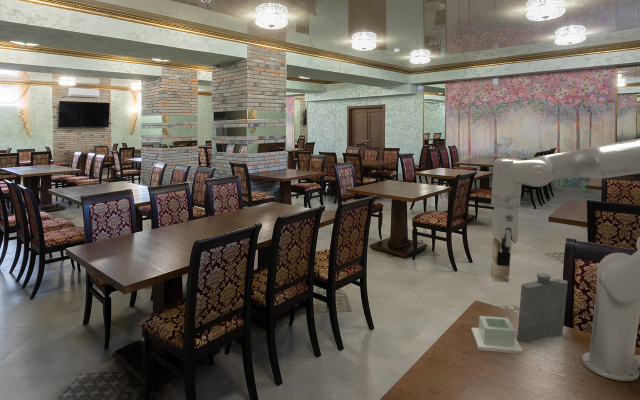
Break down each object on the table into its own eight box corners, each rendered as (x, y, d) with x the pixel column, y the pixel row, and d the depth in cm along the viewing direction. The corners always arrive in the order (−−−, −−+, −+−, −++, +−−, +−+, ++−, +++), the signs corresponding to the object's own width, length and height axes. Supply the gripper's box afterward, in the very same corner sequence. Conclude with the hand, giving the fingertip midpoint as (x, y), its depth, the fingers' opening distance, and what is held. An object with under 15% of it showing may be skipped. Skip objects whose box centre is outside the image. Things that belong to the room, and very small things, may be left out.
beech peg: (505, 277, 121) (507, 238, 119) (508, 282, 117) (511, 242, 115) (490, 276, 122) (493, 238, 120) (493, 281, 118) (496, 241, 116)
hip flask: (522, 343, 122) (527, 280, 119) (512, 336, 126) (517, 275, 123) (564, 335, 126) (571, 274, 123) (554, 329, 130) (560, 270, 127)
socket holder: (511, 333, 128) (512, 315, 127) (522, 354, 116) (524, 334, 115) (471, 330, 130) (472, 312, 129) (478, 350, 118) (479, 330, 117)
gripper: (528, 207, 107) (523, 273, 110) (511, 196, 123) (507, 254, 126) (498, 206, 108) (494, 271, 111) (485, 196, 124) (481, 253, 127)
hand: (501, 262), depth 118 cm, fingers closed on beech peg, 4 cm apart
